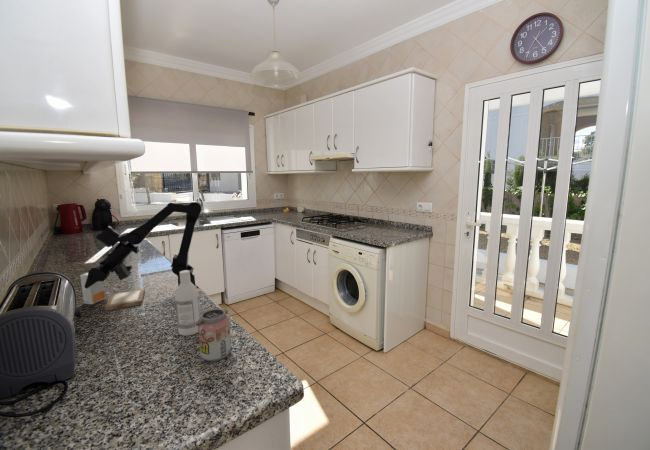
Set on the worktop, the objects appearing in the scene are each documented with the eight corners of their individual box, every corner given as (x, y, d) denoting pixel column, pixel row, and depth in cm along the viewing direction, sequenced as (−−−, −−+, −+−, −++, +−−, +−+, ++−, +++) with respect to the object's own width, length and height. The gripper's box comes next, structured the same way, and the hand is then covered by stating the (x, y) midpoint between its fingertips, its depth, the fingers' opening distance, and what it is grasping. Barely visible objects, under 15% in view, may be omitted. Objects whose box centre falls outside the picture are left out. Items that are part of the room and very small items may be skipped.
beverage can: (193, 353, 85) (189, 313, 83) (220, 341, 91) (217, 303, 89) (209, 367, 79) (205, 324, 77) (237, 352, 85) (234, 312, 83)
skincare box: (92, 304, 119) (88, 275, 117) (83, 303, 120) (79, 275, 118) (106, 298, 125) (102, 270, 123) (98, 297, 126) (93, 270, 124)
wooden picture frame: (145, 292, 131) (144, 288, 131) (142, 304, 119) (141, 300, 118) (111, 297, 126) (111, 293, 125) (105, 310, 113) (104, 306, 113)
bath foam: (191, 323, 102) (185, 267, 99) (206, 327, 99) (201, 269, 96) (173, 333, 96) (167, 273, 92) (189, 338, 93) (183, 276, 90)
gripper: (130, 273, 117) (100, 304, 115) (141, 260, 134) (115, 287, 132) (103, 255, 113) (72, 287, 111) (118, 244, 130) (91, 272, 128)
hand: (90, 283), depth 121 cm, fingers open, 9 cm apart
